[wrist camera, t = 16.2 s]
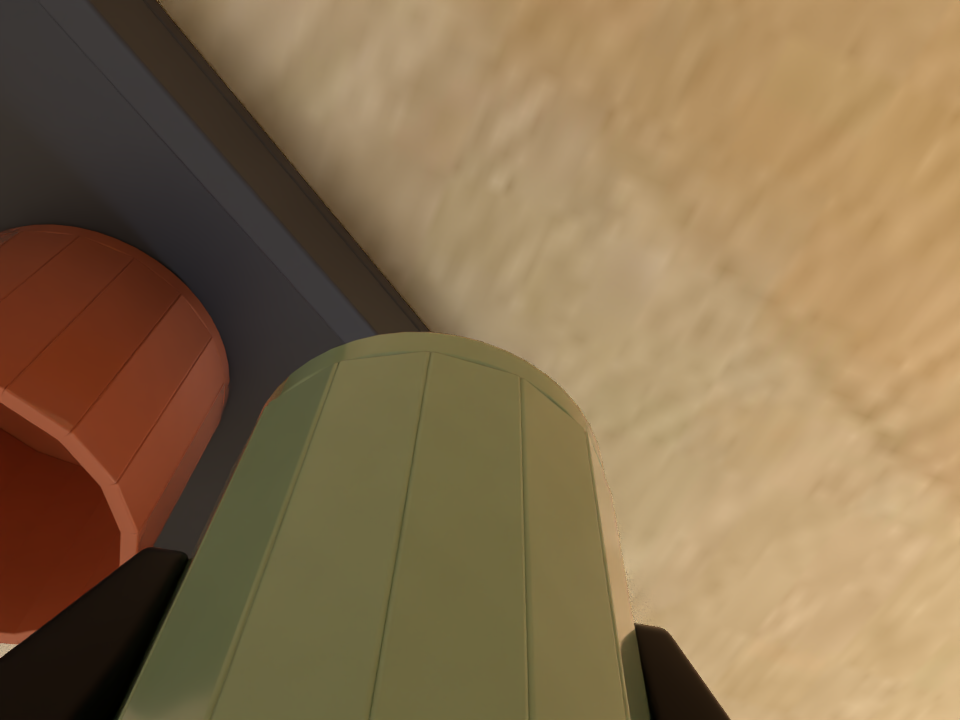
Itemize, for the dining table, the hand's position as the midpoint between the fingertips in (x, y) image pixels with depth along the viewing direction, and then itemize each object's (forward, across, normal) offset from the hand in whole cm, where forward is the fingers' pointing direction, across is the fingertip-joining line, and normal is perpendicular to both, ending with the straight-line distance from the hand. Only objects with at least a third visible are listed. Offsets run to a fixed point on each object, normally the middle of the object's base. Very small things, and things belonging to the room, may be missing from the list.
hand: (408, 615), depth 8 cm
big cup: (+11, +9, +6) cm, 15 cm away
